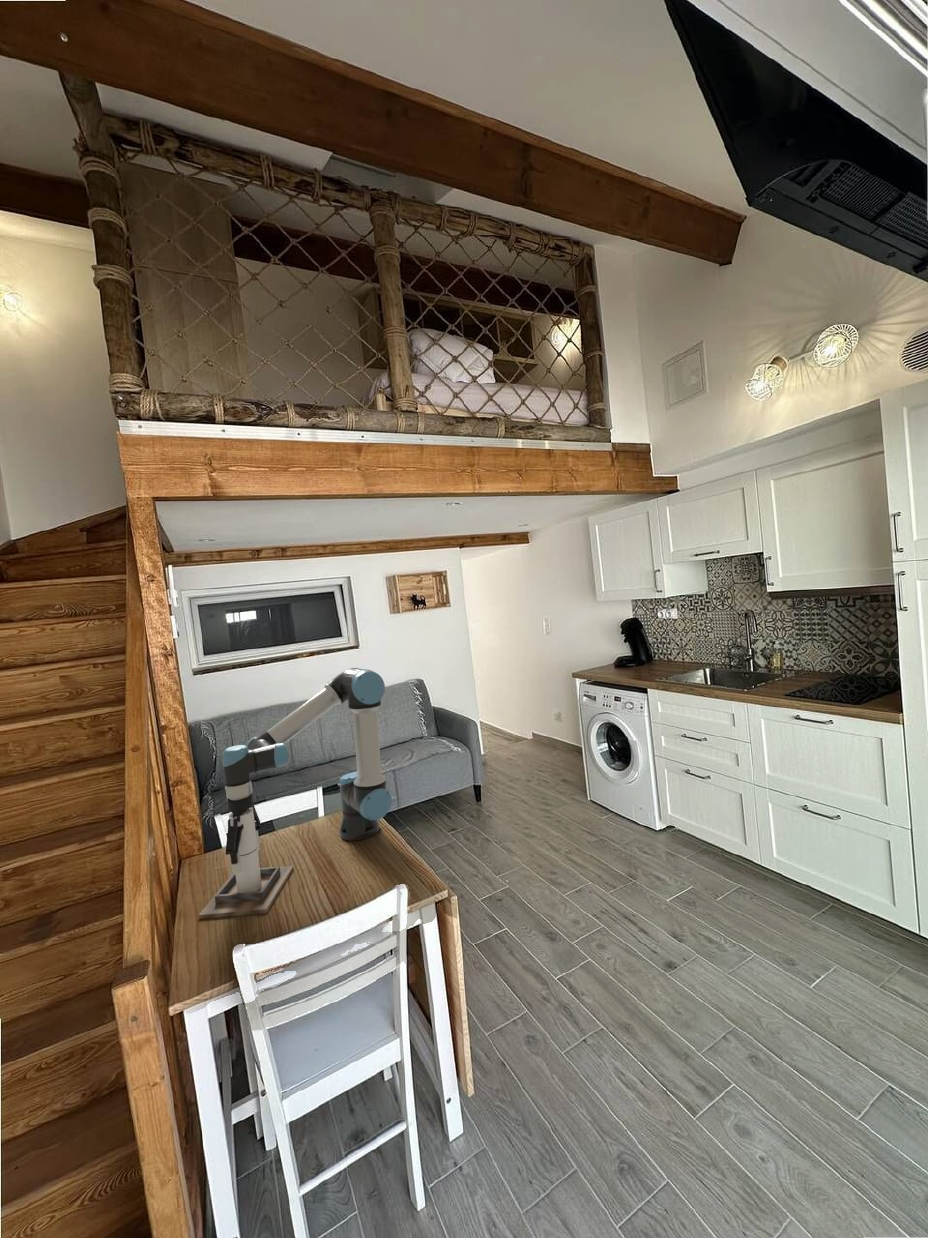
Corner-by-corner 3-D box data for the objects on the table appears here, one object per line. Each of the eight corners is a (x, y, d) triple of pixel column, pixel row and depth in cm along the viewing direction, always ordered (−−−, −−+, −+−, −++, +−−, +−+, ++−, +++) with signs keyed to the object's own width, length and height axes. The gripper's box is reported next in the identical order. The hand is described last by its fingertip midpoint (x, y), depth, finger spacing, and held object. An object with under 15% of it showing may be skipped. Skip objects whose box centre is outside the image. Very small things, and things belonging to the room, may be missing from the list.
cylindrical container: (252, 895, 156) (243, 817, 155) (232, 894, 158) (223, 817, 156) (266, 882, 163) (257, 807, 162) (246, 881, 165) (238, 807, 163)
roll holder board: (293, 869, 172) (292, 858, 172) (266, 913, 149) (265, 901, 148) (235, 874, 172) (234, 863, 172) (199, 919, 148) (197, 906, 148)
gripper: (244, 782, 171) (251, 842, 172) (208, 813, 147) (215, 884, 148) (266, 780, 171) (272, 840, 172) (233, 811, 147) (241, 882, 148)
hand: (246, 861), depth 160 cm, fingers open, 13 cm apart
